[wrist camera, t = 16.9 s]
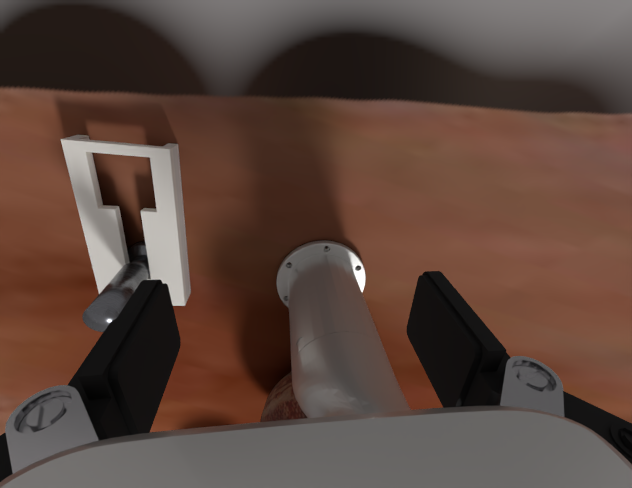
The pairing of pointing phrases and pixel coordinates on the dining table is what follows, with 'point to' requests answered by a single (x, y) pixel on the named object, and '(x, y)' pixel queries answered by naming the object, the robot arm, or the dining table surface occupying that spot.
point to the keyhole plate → (158, 224)
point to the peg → (118, 290)
